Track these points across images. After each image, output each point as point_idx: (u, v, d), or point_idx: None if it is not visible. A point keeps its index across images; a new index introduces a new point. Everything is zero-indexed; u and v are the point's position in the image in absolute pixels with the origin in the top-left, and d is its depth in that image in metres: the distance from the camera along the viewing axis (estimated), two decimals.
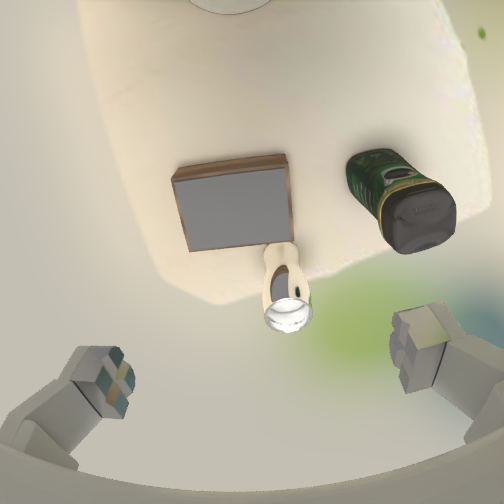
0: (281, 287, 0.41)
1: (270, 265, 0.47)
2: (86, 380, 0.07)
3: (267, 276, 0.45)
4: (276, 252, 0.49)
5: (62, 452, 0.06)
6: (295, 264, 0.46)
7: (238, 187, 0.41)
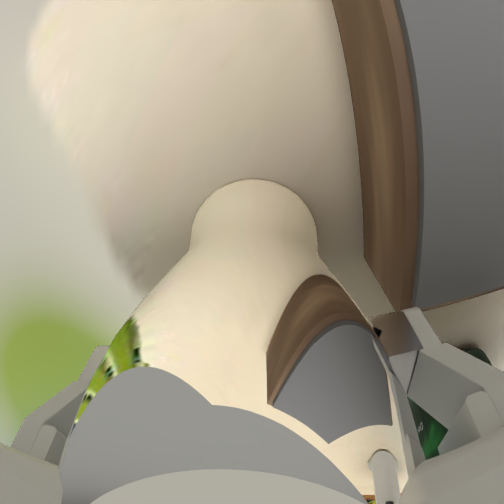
0: None
1: (314, 254, 0.09)
2: None
3: (337, 292, 0.06)
4: (313, 243, 0.12)
5: None
6: None
7: None
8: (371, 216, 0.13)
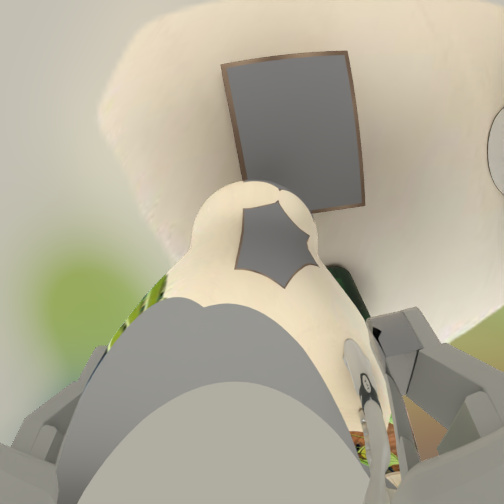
0: None
1: (313, 254, 0.09)
2: None
3: (334, 293, 0.06)
4: (313, 243, 0.12)
5: None
6: None
7: (337, 142, 0.27)
8: None
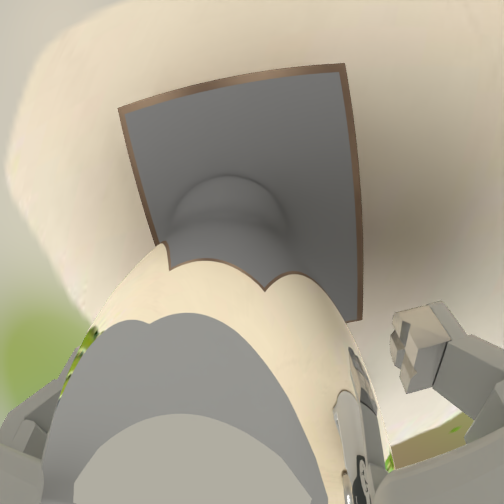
0: (384, 428, 0.05)
1: (275, 233, 0.10)
2: None
3: (288, 255, 0.08)
4: (279, 229, 0.13)
5: None
6: None
7: (321, 235, 0.17)
8: None
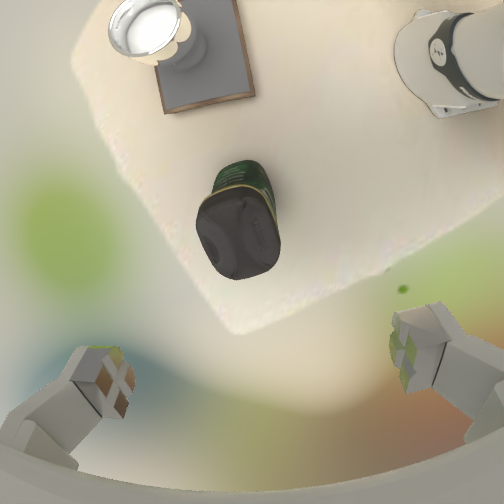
0: (185, 10, 0.20)
1: None
2: (86, 380, 0.07)
3: None
4: (196, 33, 0.29)
5: (62, 452, 0.06)
6: (193, 48, 0.27)
7: (225, 48, 0.32)
8: None
